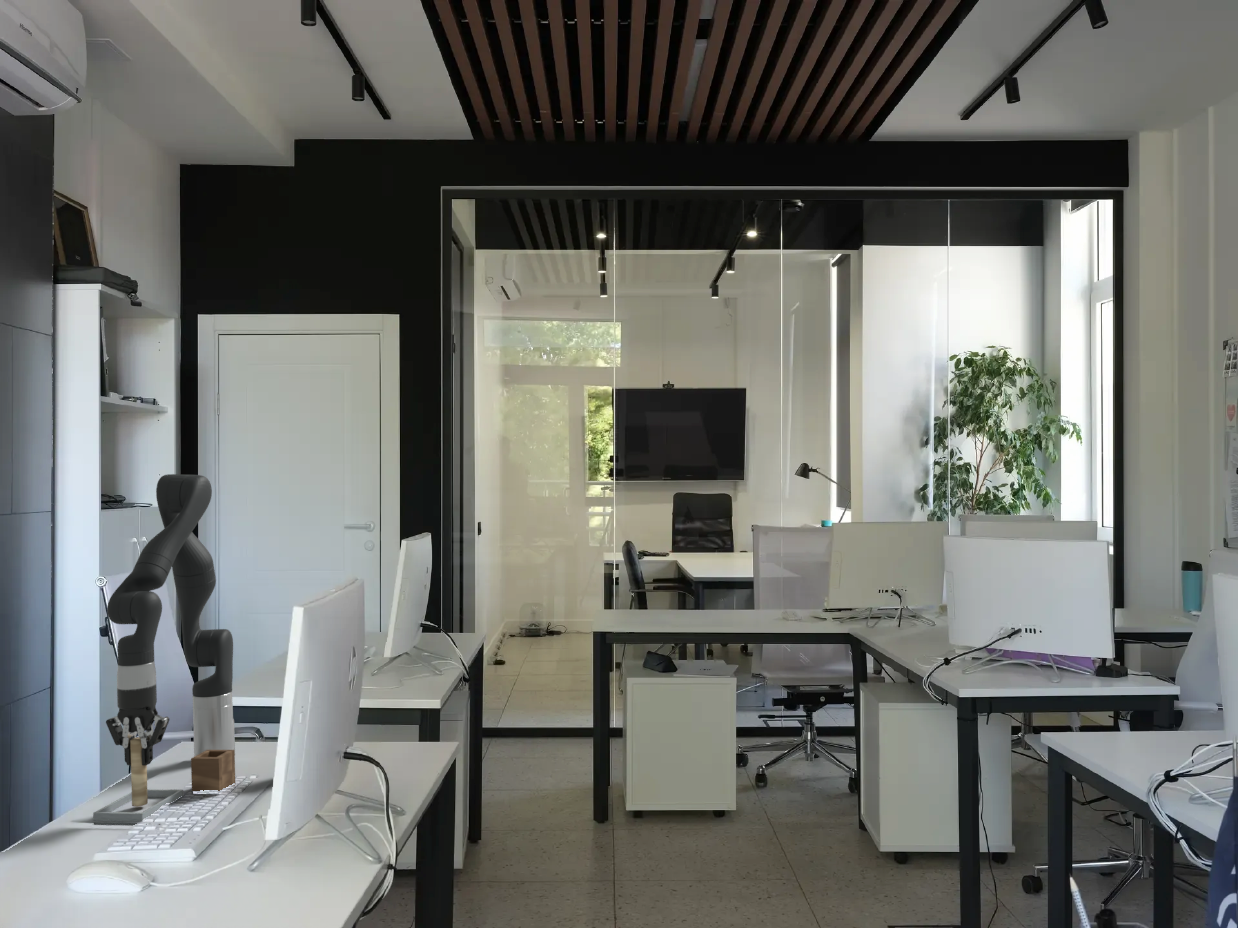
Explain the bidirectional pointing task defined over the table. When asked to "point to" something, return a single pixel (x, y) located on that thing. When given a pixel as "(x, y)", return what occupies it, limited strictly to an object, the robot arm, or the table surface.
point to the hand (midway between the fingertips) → (138, 763)
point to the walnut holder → (213, 770)
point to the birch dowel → (138, 774)
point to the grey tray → (108, 815)
